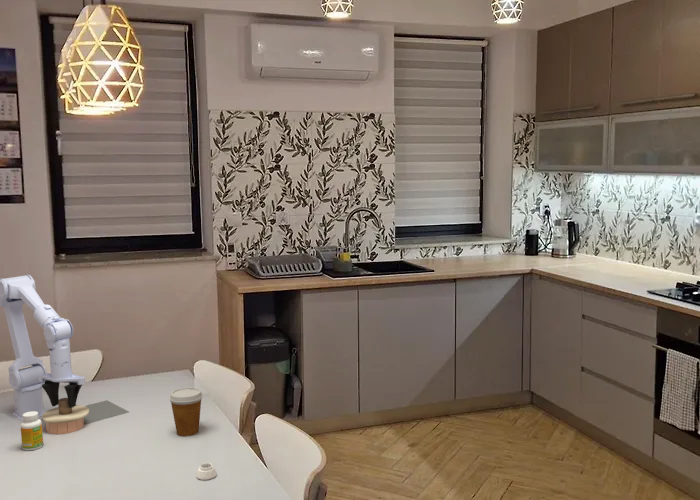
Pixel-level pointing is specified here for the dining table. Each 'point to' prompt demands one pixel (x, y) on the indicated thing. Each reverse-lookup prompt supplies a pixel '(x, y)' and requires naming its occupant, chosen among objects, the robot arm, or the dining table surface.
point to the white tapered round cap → (206, 471)
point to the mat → (102, 411)
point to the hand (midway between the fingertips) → (63, 406)
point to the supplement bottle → (31, 431)
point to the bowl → (64, 427)
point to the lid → (65, 413)
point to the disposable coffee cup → (186, 410)
